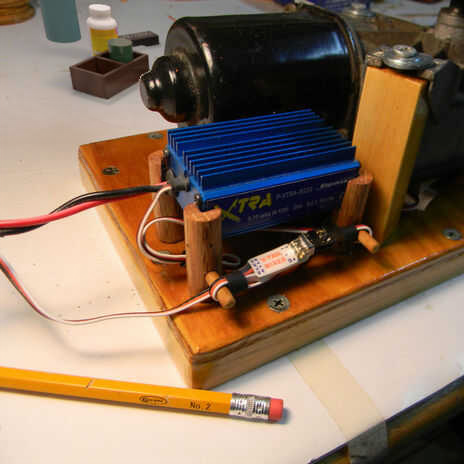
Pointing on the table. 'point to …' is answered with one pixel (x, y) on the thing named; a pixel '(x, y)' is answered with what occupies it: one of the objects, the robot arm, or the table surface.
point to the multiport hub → (142, 38)
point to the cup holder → (107, 74)
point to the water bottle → (60, 20)
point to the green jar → (120, 50)
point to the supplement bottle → (100, 28)
